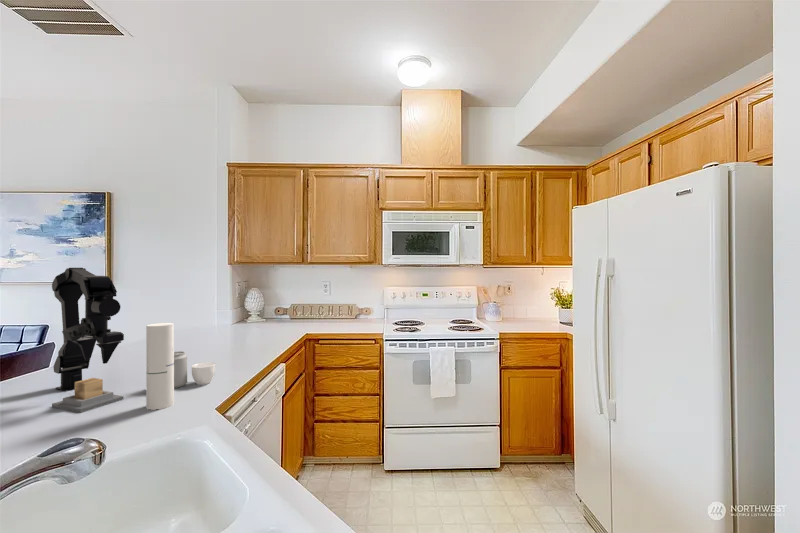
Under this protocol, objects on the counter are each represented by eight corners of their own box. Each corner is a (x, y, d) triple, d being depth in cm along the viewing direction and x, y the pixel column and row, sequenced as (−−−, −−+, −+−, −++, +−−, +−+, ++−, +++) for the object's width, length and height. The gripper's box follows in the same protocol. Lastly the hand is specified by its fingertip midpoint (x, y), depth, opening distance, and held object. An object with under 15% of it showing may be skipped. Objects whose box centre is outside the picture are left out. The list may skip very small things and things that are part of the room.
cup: (199, 387, 132) (199, 368, 132) (184, 383, 137) (184, 365, 138) (219, 382, 139) (219, 364, 139) (204, 378, 144) (204, 360, 144)
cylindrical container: (179, 403, 117) (179, 323, 117) (158, 411, 110) (157, 326, 110) (162, 400, 119) (162, 322, 119) (140, 408, 112) (140, 325, 113)
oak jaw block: (74, 401, 116) (74, 382, 116) (92, 396, 121) (92, 377, 121) (84, 403, 114) (84, 383, 114) (102, 398, 119) (102, 379, 119)
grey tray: (52, 406, 114) (52, 398, 114) (95, 394, 126) (95, 387, 126) (80, 412, 109) (80, 404, 110) (123, 399, 121) (123, 391, 121)
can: (176, 389, 130) (176, 355, 130) (157, 388, 132) (157, 354, 132) (192, 383, 138) (192, 350, 138) (174, 382, 139) (174, 350, 139)
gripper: (49, 315, 118) (49, 365, 118) (85, 319, 111) (85, 371, 111) (89, 312, 128) (89, 357, 128) (125, 314, 121) (124, 362, 121)
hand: (96, 362), depth 122 cm, fingers open, 9 cm apart
